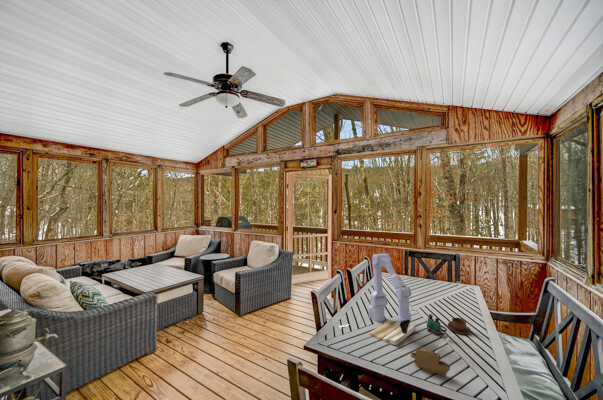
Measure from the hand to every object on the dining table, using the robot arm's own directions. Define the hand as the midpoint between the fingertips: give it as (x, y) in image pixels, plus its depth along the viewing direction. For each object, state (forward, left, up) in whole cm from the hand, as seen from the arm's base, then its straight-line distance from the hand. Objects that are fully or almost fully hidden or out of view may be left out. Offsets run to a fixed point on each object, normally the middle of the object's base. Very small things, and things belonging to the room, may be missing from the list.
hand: (404, 332), depth 146 cm
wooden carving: (+20, -18, -4) cm, 27 cm away
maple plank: (-3, 0, -3) cm, 4 cm away
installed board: (-11, 0, -4) cm, 12 cm away
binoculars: (+10, +20, -4) cm, 23 cm away
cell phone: (-26, -15, -4) cm, 30 cm away
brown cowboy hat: (+18, +34, -4) cm, 39 cm away
